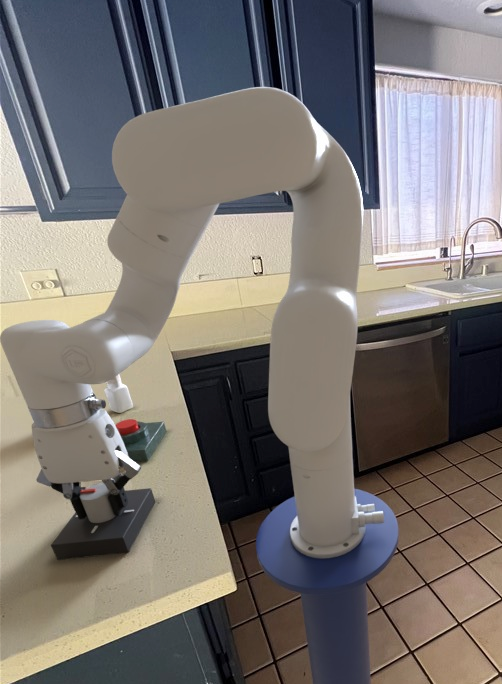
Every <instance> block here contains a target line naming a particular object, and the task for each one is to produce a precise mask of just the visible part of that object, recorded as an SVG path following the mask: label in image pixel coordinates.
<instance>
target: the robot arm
mask: <svg viewBox="0 0 502 684" xmlns="http://www.w3.org/2000/svg"><path fill="white" fill-rule="evenodd" d="M111 165H112V167H113V168H112V169H113V172H114V176H115V177H116V179H117V182H118V184H119V185H120V188H122V190H123V191H124V192H125V194H126V196H125V198H124V201H123V203H122V204H121V207H120V209H119V212H118V214H117V215H116V217H115V220H114V222H113V224H112V227H110V230H109V232H108V234H107V238H106V242H107V247H108V249H109V252H110V253H111V254H112V256H113V257H114V259H116V260H117V261H118V262H120V263H121V266H122V267H121V268H122V272H121V278H120V281H119V284H118V286H117V289H116V291H115V293H114V295H113V297H112V298H111V301H110V303H109V305H108V307H107V309H106V310H105V311H104V312H103V313H100V314H98V315H96V316H93V317H92V318H90V319H87V320H85V321H83V322H81V323H78V324H76V325H73V326H69V324H67V323H65V322H64V321H61V320H57V319H37V320H31V321H25V322H20V323H16V324H13V325H11V326H8V327H6V328H4V329H3V330H2V331H1V333H0V345H1V348H2V350H3V353H4V355H5V356H6V360H7V362H8V364H9V367H10V368H11V371H12V373H13V376H14V378H15V380H16V383H17V386H18V388H19V390H20V393H21V394H22V397H23V399H24V401H25V404H26V407H27V409H28V412H29V414H30V416H31V418H32V420H33V422H32V423H31V436H32V441H33V447H34V450H35V453H36V456H37V457H36V458H37V459H38V463H39V465H40V468H41V469H40V470H39V473H38V475H37V476H36V482H37V483H39V484H41V485H44V486H47V487H51V488H52V490H54V491H56V492H58V493H60V494H62V495H63V498H64V499H66V500H69V501H70V504H71V506H72V508H73V510H74V513H75V512H76V513H77V515H78V518H79V519H84V518H86V517H87V514H86V511H85V509H84V506H83V504H82V501H81V499H80V494H81V493H80V491H81V490H85V489H86V488H87V487H86V486H82V482H95V481H102V483H104V484H105V486H106V487H107V489H108V490H109V491H110V494H109V496H108V499H109V502H110V504H111V507H112V510H113V512H114V515H116V516H120V515H121V513H122V512H123V510H124V509H125V507H126V506H127V505H128V498H127V495H126V493H125V491H126V489H125V487H126V485H127V483H128V482H129V481H130V480H132V479H133V478H135V477H136V476H137V475H138V474H139V472H141V470H142V467H141V465H139V464H138V463H137V462H134V461H133V460H131V459H130V458H129V456H128V453H127V450H126V448H125V445H124V443H123V440H122V438H121V436H120V434H119V432H118V430H117V428H116V426H115V425H116V424H115V422H114V421H113V419H112V418H111V416H110V415H109V413H108V412H107V411H106V407H107V402H106V400H105V399H101V398H100V399H99V398H97V397H96V394H95V392H94V391H93V389H92V386H91V385H101V384H104V383H106V382H107V381H109V380H111V379H113V378H114V377H116V376H117V375H118V374H119V375H120V374H121V373H123V372H124V371H125V370H126V369H128V368H129V367H130V366H131V365H133V364H134V363H136V362H137V361H138V360H140V359H141V358H142V357H144V356H145V355H146V354H147V353H148V352H149V351H150V349H151V348H152V347H153V346H154V344H155V342H156V341H157V340H158V337H159V335H160V334H161V332H162V330H163V328H164V326H165V324H166V322H167V321H168V320H169V317H170V315H171V313H172V311H173V308H174V306H175V302H176V300H177V296H178V292H179V290H180V286H181V279H182V276H183V274H184V273H185V271H186V268H187V266H188V265H189V263H190V260H191V259H192V257H193V255H194V253H195V251H196V250H197V247H198V246H199V243H200V241H201V239H202V237H203V236H204V234H205V232H206V230H207V228H208V226H209V224H210V223H211V221H212V219H213V217H214V215H215V213H216V211H218V208H219V206H220V204H223V203H229V202H233V201H238V200H243V199H247V198H251V197H256V196H260V195H265V194H271V193H277V192H286V193H288V195H289V197H290V199H291V203H292V208H293V220H292V228H291V237H290V238H291V239H290V241H291V242H290V243H291V244H290V245H291V251H290V252H291V253H290V268H289V269H290V270H289V279H288V287H287V289H286V291H285V294H284V295H283V297H282V298H281V300H280V301H279V303H278V305H277V307H276V309H275V312H274V314H273V317H272V321H271V322H272V323H271V329H270V340H269V341H270V342H269V366H268V367H269V368H268V392H267V393H268V394H267V395H268V396H267V397H268V399H267V413H268V415H267V416H268V421H269V424H270V427H271V429H272V431H273V433H274V434H275V436H276V437H277V438H278V439H279V441H281V442H282V443H283V444H285V446H287V448H288V454H289V455H288V456H289V463H290V471H291V478H292V486H293V492H294V493H293V495H294V496H295V502H296V509H297V516H296V518H295V519H294V520H293V522H292V524H291V527H290V538H291V542H292V544H293V546H294V547H295V548H296V549H297V550H298V551H299V552H300V553H302V554H304V555H306V556H309V557H313V558H321V559H322V558H333V557H337V556H340V555H343V554H345V553H347V552H349V551H351V550H352V549H354V548H355V547H356V546H357V545H358V544H359V543H360V542H361V540H362V539H363V537H364V534H365V528H366V527H365V524H372V523H373V524H378V523H384V515H383V511H378V512H375V507H374V504H368V505H362V506H360V504H357V501H356V496H355V494H354V489H355V476H354V459H353V438H352V437H353V435H352V417H351V415H352V414H351V389H352V381H353V374H354V365H355V358H356V350H357V342H358V341H357V340H358V330H359V329H358V328H359V327H358V325H359V324H358V319H359V315H358V313H359V312H358V303H357V302H358V301H357V298H358V295H357V294H358V283H359V274H360V264H361V250H362V242H363V241H362V240H363V229H364V204H363V201H364V200H363V195H362V190H361V185H360V180H359V178H358V175H357V173H356V170H355V168H354V166H353V164H352V161H351V159H350V157H349V156H348V155H347V153H346V151H345V149H343V147H342V146H341V145H340V144H339V142H338V141H337V140H336V139H335V138H334V137H333V136H332V135H331V134H330V133H329V132H328V131H327V130H326V129H325V128H324V127H323V126H321V124H320V123H318V122H317V120H316V119H315V118H314V116H313V115H312V113H311V111H310V110H309V109H308V108H307V106H306V105H305V104H304V103H303V102H302V101H301V100H300V99H299V98H298V97H296V96H295V95H293V94H292V93H290V92H288V91H285V90H283V89H280V88H277V87H269V86H255V87H248V88H243V89H240V90H235V91H229V92H227V93H221V94H219V95H215V96H211V97H207V98H202V99H199V100H193V101H189V102H185V103H181V104H177V105H172V106H167V107H164V108H159V109H156V110H151V111H148V112H145V113H141V114H139V115H137V116H134V117H133V118H131V119H130V120H127V122H126V123H124V125H122V127H121V128H120V130H119V131H118V132H117V134H116V136H115V139H114V141H113V144H112V149H111ZM119 468H121V469H122V470H124V472H123V473H122V472H121V471H120V469H119ZM366 512H367V513H366ZM369 512H372V513H369ZM364 513H365V514H364Z"/></svg>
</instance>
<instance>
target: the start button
mask: <svg viewBox="0 0 502 684" xmlns="http://www.w3.org/2000/svg"><path fill="white" fill-rule="evenodd" d="M115 426H116V428H117V430H118V432H119V434H120V435H127V434H130V433H133V432H135V431H137V430H139V427H138V423H137V420H136V419H135V418H127V419H124V420H121V421H119V422H117V423H116V424H115Z"/></svg>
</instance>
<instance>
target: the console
mask: <svg viewBox="0 0 502 684" xmlns="http://www.w3.org/2000/svg"><path fill="white" fill-rule="evenodd" d="M136 421H137V420H136ZM137 423H138V427H139V430H137V431H135V432H133V433H130V434H127V435H120V436H121V438H122V440H123V443H124V445H125V448H126V450H127V453H128V456H129V458H130V459H131V460H133V461H134V462H135V463H137V462H148V461H149V460H150V458H151V457H152V455H153V454H154V452H155V451H156V449H157V447H159V445H160V443H161V441H162V440H163V438H164V436H165V435H166V433H167V428H166V424H165V421H155V422H154V421H153V422H152V421H151V422H144V421H137Z"/></svg>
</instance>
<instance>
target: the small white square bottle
mask: <svg viewBox="0 0 502 684" xmlns="http://www.w3.org/2000/svg"><path fill="white" fill-rule="evenodd" d="M105 383H106V385H107V387H105V388H104V394H105V397H106V399H107V402H108V405H109V408H110V410H111V411H112V412H115V413H119V414H122V413H124V412H127V411H128V410H130V409H133V408H134V404H133V401H132V397H131V394H130V391H129V387H128V386H127V385H126V384H124V383H123V382H122V378H121V375H120V374H118V375H117V376H116V377H114V378H113V379H111V380H109V381H107V382H105Z"/></svg>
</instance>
